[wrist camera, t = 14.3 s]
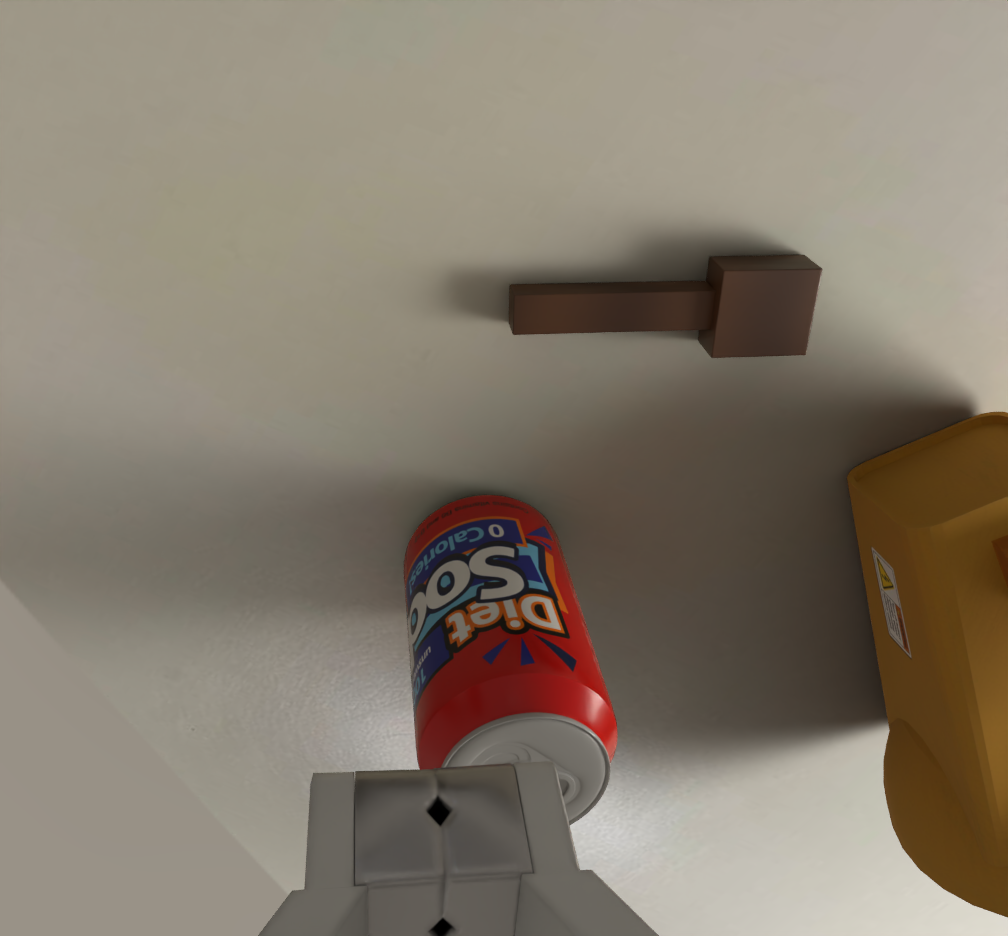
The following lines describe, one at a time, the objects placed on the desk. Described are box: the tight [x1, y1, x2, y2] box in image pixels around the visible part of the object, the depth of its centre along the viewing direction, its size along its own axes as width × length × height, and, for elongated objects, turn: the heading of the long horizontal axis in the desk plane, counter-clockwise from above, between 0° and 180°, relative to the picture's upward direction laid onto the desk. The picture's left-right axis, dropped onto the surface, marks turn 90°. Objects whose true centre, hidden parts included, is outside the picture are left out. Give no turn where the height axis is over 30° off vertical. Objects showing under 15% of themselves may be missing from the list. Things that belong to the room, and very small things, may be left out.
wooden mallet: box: [509, 255, 822, 358], centre depth 42 cm, size 13×4×2 cm, turn 89°
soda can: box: [404, 495, 617, 825], centre depth 42 cm, size 8×8×15 cm
